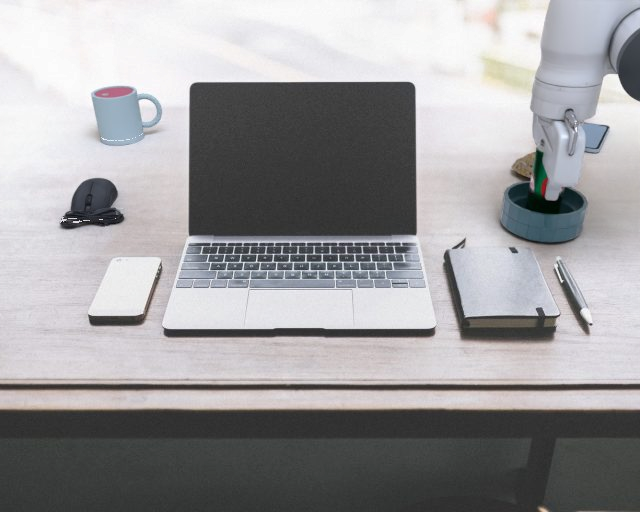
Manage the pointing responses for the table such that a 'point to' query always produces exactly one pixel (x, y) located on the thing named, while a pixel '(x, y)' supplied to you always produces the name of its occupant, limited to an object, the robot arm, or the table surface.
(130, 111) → the mug
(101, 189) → the computer mouse
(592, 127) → the smartphone
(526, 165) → the seashell
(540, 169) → the soda can
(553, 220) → the bowl
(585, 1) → the robot arm
